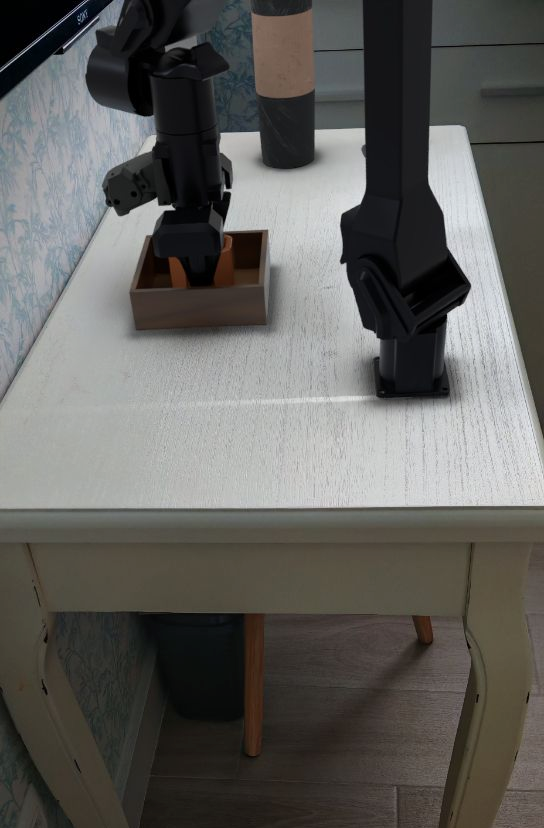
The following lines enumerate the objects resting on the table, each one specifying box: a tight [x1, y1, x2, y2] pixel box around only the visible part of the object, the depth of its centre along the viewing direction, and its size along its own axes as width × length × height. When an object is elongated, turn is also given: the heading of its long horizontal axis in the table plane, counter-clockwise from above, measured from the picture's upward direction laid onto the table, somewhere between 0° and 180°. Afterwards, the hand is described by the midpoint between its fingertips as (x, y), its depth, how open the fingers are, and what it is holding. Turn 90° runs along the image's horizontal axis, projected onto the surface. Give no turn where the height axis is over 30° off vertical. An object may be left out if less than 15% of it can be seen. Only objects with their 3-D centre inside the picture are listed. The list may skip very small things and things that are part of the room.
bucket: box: [168, 234, 236, 288], centre depth 94 cm, size 6×6×6 cm
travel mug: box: [250, 0, 316, 169], centre depth 117 cm, size 8×8×20 cm
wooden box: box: [128, 229, 272, 331], centre depth 95 cm, size 13×13×4 cm
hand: (205, 285), depth 95 cm, fingers closed on bucket, 6 cm apart
